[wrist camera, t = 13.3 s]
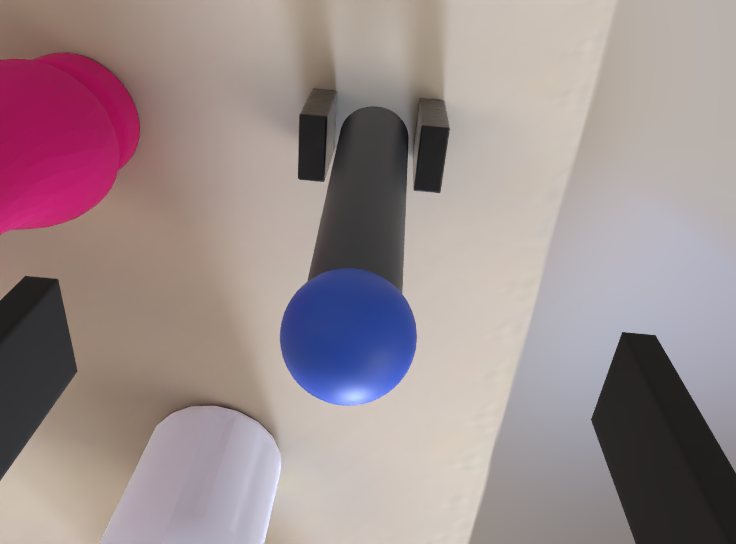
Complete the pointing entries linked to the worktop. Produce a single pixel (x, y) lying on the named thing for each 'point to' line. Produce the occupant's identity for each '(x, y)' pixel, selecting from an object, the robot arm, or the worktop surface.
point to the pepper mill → (60, 138)
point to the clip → (320, 140)
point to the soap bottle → (200, 482)
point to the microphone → (356, 272)
